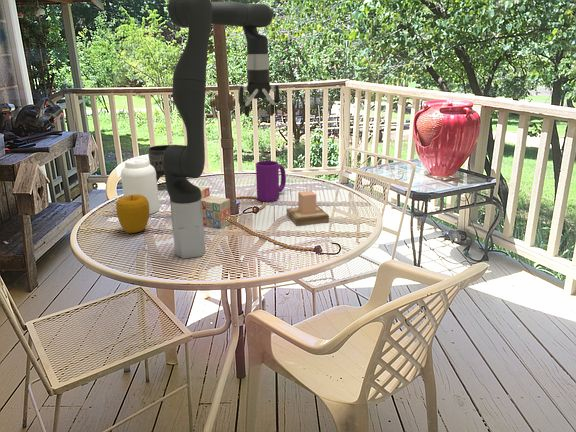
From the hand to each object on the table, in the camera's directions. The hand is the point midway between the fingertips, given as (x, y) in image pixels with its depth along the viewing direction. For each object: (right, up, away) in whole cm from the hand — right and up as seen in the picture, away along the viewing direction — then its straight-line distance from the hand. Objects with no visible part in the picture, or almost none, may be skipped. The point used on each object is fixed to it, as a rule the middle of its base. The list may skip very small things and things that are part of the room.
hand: (259, 116), depth 174 cm
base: (+17, -36, +6) cm, 40 cm away
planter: (-44, -23, +46) cm, 67 cm away
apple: (-42, -40, -4) cm, 59 cm away
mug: (+4, -27, +31) cm, 42 cm away
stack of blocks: (-21, -37, +5) cm, 43 cm away
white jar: (-46, -33, +16) cm, 59 cm away
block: (+17, -34, +5) cm, 38 cm away
